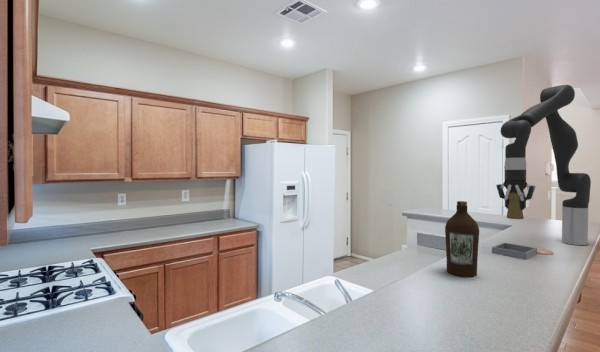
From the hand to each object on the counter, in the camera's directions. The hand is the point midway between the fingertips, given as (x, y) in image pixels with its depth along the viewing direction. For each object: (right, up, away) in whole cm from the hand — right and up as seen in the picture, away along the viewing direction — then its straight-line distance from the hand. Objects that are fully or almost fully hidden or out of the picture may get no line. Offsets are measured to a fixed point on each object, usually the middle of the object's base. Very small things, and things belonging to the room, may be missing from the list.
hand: (515, 208), depth 132 cm
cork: (0, -4, 0) cm, 4 cm away
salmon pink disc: (+13, -19, +2) cm, 23 cm away
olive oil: (-34, -20, -22) cm, 45 cm away
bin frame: (0, -19, +1) cm, 19 cm away
